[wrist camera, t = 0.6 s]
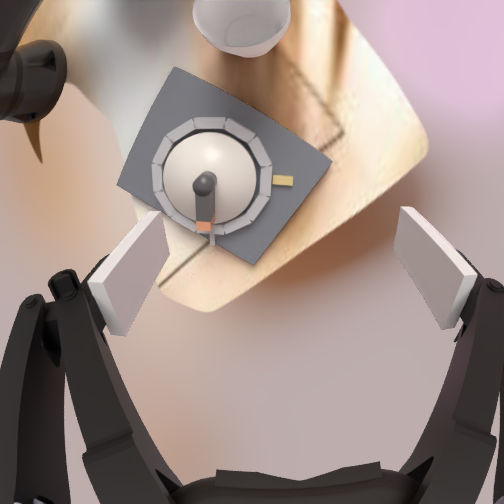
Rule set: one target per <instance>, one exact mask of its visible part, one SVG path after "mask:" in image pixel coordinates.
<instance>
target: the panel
mask: <svg viewBox="0 0 504 504" xmlns="http://www.w3.org/2000/svg"><path fill="white" fill-rule="evenodd" d="M203 132H220V133H224V134H227V135H230V136H232V137H233V138H235V139H237V140H238V141H240V142H241V143H242V144H243V145H244V146H245V147H246V148H247V150H248V151H249V152H250V154H251V156H252V158H253V160H254V163H255V166H256V172H257V180H256V187H255V191H254V194H253V197H252V199H251V201H250V203H249V205H248V206H247V207H246V208H245V210H243V211H242V212H241V213H240V214H239V215H238V216H236V217H235V218H233V219H231V220H228V221H226V222H222V223H216V224H214V225H213V227H212V229H211V231H197V230H196V221H194V220H191V219H190V218H188V217H186V216H184V215H183V214H181V213H180V212H179V211H178V210H177V209H176V208H175V207H174V206H173V204H172V203H171V202H170V200H169V198H168V196H167V194H166V191H165V187H164V182H163V172H164V166H165V163H166V160H167V158H168V156H169V154H170V153H171V151H172V150H173V149H174V148H175V147H176V146H177V145H178V144H179V143H180V142H182V141H183V140H185V139H187V138H189V137H191V136H193V135H196V134H198V133H203ZM332 162H333V161H332V160H331V159H329V158H328V157H327V156H325V155H324V154H323V153H321V152H320V151H318V150H317V149H316V148H314V147H313V146H311V145H310V144H308V143H307V142H306V141H304V140H303V139H301V138H300V137H298V136H297V135H295V134H294V133H292V132H291V131H289V130H288V129H286V128H285V127H283V126H282V125H280V124H279V123H277V122H276V121H274V120H272V119H271V118H269V117H268V116H266V115H264V114H263V113H261V112H259V111H258V110H256V109H254V108H253V107H251V106H249V105H248V104H246V103H244V102H243V101H241V100H239V99H237V98H236V97H234V96H232V95H230V94H228V93H227V92H225V91H223V90H221V89H219V88H217V87H215V86H214V85H212V84H210V83H208V82H206V81H204V80H202V79H200V78H198V77H196V76H194V75H192V74H190V73H188V72H186V71H184V70H182V69H179V68H177V67H174V68H173V69H172V71H171V73H170V74H169V76H168V78H167V79H166V81H165V83H164V85H163V86H162V88H161V90H160V92H159V94H158V95H157V97H156V99H155V101H154V103H153V105H152V107H151V109H150V111H149V113H148V115H147V117H146V119H145V121H144V123H143V125H142V127H141V129H140V131H139V133H138V135H137V137H136V140H135V142H134V144H133V146H132V149H131V151H130V153H129V155H128V158H127V160H126V163H125V165H124V167H123V170H122V172H121V175H120V178H119V180H118V183H117V186H119V187H121V188H122V189H124V190H126V191H128V192H129V193H131V194H132V195H134V196H136V197H137V198H139V199H141V200H143V201H144V202H146V203H148V204H149V205H151V206H153V207H154V208H156V209H158V210H159V211H161V212H163V213H165V214H166V215H168V216H169V217H171V219H172V220H174V221H176V222H177V223H179V224H181V225H183V226H184V227H186V228H188V229H189V230H191V231H193V232H197V233H199V234H200V235H202V236H204V237H206V238H207V239H209V240H210V246H215V243H216V244H218V245H219V246H221V247H223V248H225V249H226V250H228V251H230V252H231V253H233V254H235V255H237V256H238V257H240V258H242V259H244V260H245V261H247V262H249V263H251V264H252V265H254V264H255V263H256V261H257V260H258V259H259V257H260V256H261V255H262V254H263V252H264V251H265V250H266V248H267V247H268V246H269V244H270V243H271V242H272V241H273V239H274V238H275V237H276V235H277V234H278V233H279V231H280V230H281V229H282V227H283V226H284V225H285V224H286V222H287V221H288V220H289V218H290V217H291V216H292V214H293V213H294V212H295V210H296V209H297V208H298V207H299V205H300V204H301V203H302V201H303V200H304V199H305V197H306V196H307V195H308V193H309V192H310V191H311V189H312V188H313V187H314V186H315V184H316V183H317V182H318V180H319V179H320V178H321V176H322V175H323V174H324V172H325V171H326V170H327V168H328V167H329V166H330V164H331V163H332Z"/></svg>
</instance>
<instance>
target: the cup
mask: <svg viewBox="0 0 504 504" xmlns="http://www.w3.org/2000/svg"><path fill="white" fill-rule="evenodd" d="M193 19H194V22H195V25H196V26H197V28H198V30H199V31H200V32H201V33H202V35H203V36H204V38H205V39H206V40H207V41H208V42H209V43H210V44H211V45H213V46H214V47H216V48H217V49H219V50H221V51H224V52H227V53H230V54H234V55H238V56H241V57H246V58H254V57H259V56H262V55H264V54H266V53H267V52H269V51H270V50H271V49H272V48H273V47H274V46H275V45H276V44H277V43H278V42H279V41H280V40H281V39H282V37H283V36H284V35H285V33H286V31H287V29H288V27H289V24H290V2H289V0H195V2H194V5H193Z"/></svg>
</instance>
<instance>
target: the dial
mask: <svg viewBox="0 0 504 504" xmlns="http://www.w3.org/2000/svg"><path fill="white" fill-rule="evenodd" d="M256 180H257V172H256V166H255V163H254V160H253V158H252V156H251V154H250V152H249V151H248V150H247V148H246V147H245V146H244V145H243V144H242V143H241V142H240V141H238V140H237V139H235V138H233V137H232V136H230V135H227V134H224V133H220V132H203V133H198V134H196V135H193V136H191V137H189V138H187V139H185V140H183V141H182V142H180V143H179V144H178V145H177V146H176V147H175V148H174V149H173V150H172V151H171V153H170V154H169V156H168V158H167V160H166V163H165V166H164V172H163V182H164V187H165V191H166V194H167V196H168V198H169V200H170V202H171V203H172V204H173V206H174V207H175V208H176V209H177V210H178V211H179V212H180V213H181V214H183V215H184V216H186V217H188V218H190V219H191V220H194V221H196V230H197V231H211V229H212V227H213V225H214V224H216V223H222V222H226V221H228V220H231V219H233V218H235V217H236V216H238V215H239V214H240V213H241V212H242V211H243V210H245V208H246V207H247V206H248V205H249V203H250V201H251V199H252V197H253V194H254V191H255V187H256Z"/></svg>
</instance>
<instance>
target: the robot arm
mask: <svg viewBox="0 0 504 504" xmlns="http://www.w3.org/2000/svg"><path fill="white" fill-rule="evenodd" d="M42 2H43V0H0V120H8V121H13V122H18V123H31V122H35V121H38V120H41V119H42V118H44V117H45V116H46V115H48V114H49V113H50V111H51V110H52V109H53V108H54V106H55V105H56V103H57V101H58V99H59V97H60V95H61V93H62V90H63V86H64V83H65V78H66V58H65V54H64V51H63V49H62V48H61V46H60V45H59V44H58V43H56V42H54V41H51V40H36V41H33V42H30V43H27V44H25V45H22V46H19V47H17V46H18V44H19V42H20V40H21V38H22V36H23V34H24V32H25V30H26V28H27V27H28V25H29V23H30V21H31V20H32V18H33V16H34V15H35V13H36V11H37V10H38V8H39V6H40V5H41V3H42ZM393 251H394V253H395V254H396V255H397V257H398V258H399V260H400V261H401V263H402V264H403V266H404V268H405V269H406V270H407V272H408V274H409V275H410V277H411V278H412V280H413V282H414V283H415V285H416V286H417V288H418V290H419V291H420V293H421V295H422V296H423V298H424V300H425V301H426V303H427V305H428V307H429V308H430V310H431V312H432V314H433V315H434V317H435V319H436V321H437V323H438V324H439V326H440V328H441V330H444V329H450V328H454V327H455V326H456V324H457V322H458V320H459V317H461V319H462V321H463V322H464V323H463V325H462V327H461V329H460V331H459V333H458V335H457V336H456V338H455V340H454V342H456V341H457V344H456V347H455V351H454V354H453V358H452V360H451V364H450V367H449V370H448V373H447V376H446V378H445V381H444V384H443V387H442V389H441V392H440V395H439V397H438V400H437V402H436V405H435V407H434V409H433V412H432V414H431V417H430V419H429V421H428V423H427V425H426V428H425V429H424V432H423V434H422V436H421V438H420V440H419V442H418V444H417V446H416V447H415V449H414V451H413V453H412V455H411V456H410V458H409V459H408V461H407V462H406V463H405V464H404V465H403V467H402V468H401V469H400V471H399V472H396V471H392V470H385V469H381V467H380V461H379V462H374V463H369V464H363V465H358V466H351V467H344V468H340V469H338V470H334V471H332V472H329V473H326V474H323V475H320V476H316V477H314V478H310V479H307V480H302V481H297V480H291V479H286V478H281V477H276V476H271V475H267V474H263V473H259V472H243V471H227V470H216V477H209V478H205V479H200V480H197V481H194V482H191V483H189V484H187V485H185V486H183V485H182V483H181V482H180V480H178V478H177V476H176V475H175V474H174V473H173V472H172V470H171V469H170V468H169V466H168V465H167V464H166V462H165V461H164V459H163V457H162V456H161V454H160V452H159V451H158V449H157V447H156V446H155V444H154V442H153V440H152V439H151V437H150V435H149V433H148V431H147V429H146V428H145V426H144V424H143V422H142V420H141V418H140V416H139V414H138V412H137V410H136V408H135V406H134V404H133V402H132V400H131V398H130V396H129V394H128V391H127V389H126V387H125V385H124V382H123V380H122V378H121V375H120V373H119V371H118V368H117V366H116V363H115V361H114V359H113V356H112V354H111V351H110V348H109V346H108V343H107V340H106V337H105V335H104V333H103V329H104V327H105V325H107V327H108V329H109V331H110V333H111V335H118V336H126V335H127V333H128V331H129V329H130V327H131V325H132V323H133V321H134V319H135V317H136V315H137V313H138V312H139V310H140V307H141V306H142V304H143V302H144V300H145V298H146V296H147V294H148V293H149V291H150V289H151V287H152V285H153V283H154V282H155V280H156V278H157V276H158V274H159V272H160V271H161V269H162V267H163V265H164V264H165V262H166V260H167V258H168V257H169V255H170V253H169V248H168V244H167V239H166V234H165V229H164V225H163V219H162V214H161V211H150V212H148V213H147V214H146V215H145V216H144V217H143V218H142V219H141V220H140V221H139V222H138V223H137V224H136V225H135V226H134V228H133V229H132V230H131V231H130V232H129V233H128V234H127V235H126V237H125V238H124V239H123V240H122V241H121V242H120V243H119V245H117V247H116V248H115V249H114V250H113V251H112V252H111V254H108V255H107V256H105V257H104V258H102V259H101V260H100V261H99V262H98V263H97V264H96V266H95V267H94V268H93V269H92V270H91V273H89V274H88V275H87V277H86V278H85V279H84V280H83V282H82V283H81V284H80V282H79V279H78V277H77V275H76V272H75V271H74V270H72V269H66V270H63V271H60V272H58V273H56V274H55V275H54V276H52V277H51V279H50V280H49V282H48V286H49V288H50V291H51V293H52V295H53V297H54V299H55V301H54V302H49V303H46V302H45V300H44V298H43V296H42V295H41V294H34V295H30V296H28V297H27V298H26V299H25V300H24V301H23V302H22V304H21V305H20V308H19V310H18V313H17V316H16V319H15V321H14V324H13V327H12V330H11V333H10V336H9V340H8V343H7V346H6V350H5V353H4V357H3V361H2V365H1V368H0V504H71V498H70V490H69V481H68V473H67V465H66V453H65V436H64V388H65V372H66V377H67V381H68V386H69V390H70V394H71V398H72V402H73V405H74V409H75V413H76V417H77V420H78V423H79V426H80V429H81V433H82V436H83V438H84V442H85V444H86V448H87V452H85V453H83V455H82V456H83V457H82V459H83V463H84V466H85V469H86V472H87V474H88V477H89V479H90V481H91V484H92V486H93V489H94V491H95V493H96V495H97V497H98V499H99V502H100V504H475V502H476V500H477V498H478V495H479V493H480V491H481V488H482V486H483V484H484V481H485V478H486V476H487V473H488V470H489V467H490V464H491V461H492V458H493V455H494V452H495V448H496V443H497V439H496V436H493V435H491V433H490V432H491V427H492V423H493V419H494V415H495V411H496V406H497V401H498V396H499V391H500V434H499V449H498V459H497V467H496V475H495V483H494V495H493V504H504V286H503V285H502V284H501V283H500V282H498V281H496V280H494V279H491V278H485V279H484V277H483V276H482V275H481V274H480V273H479V272H478V270H477V269H476V268H475V267H474V266H473V265H471V262H470V261H469V260H467V258H466V257H465V256H464V255H463V254H462V253H461V252H460V251H458V250H457V249H455V248H454V247H453V246H452V245H451V244H450V243H449V242H448V241H447V240H446V239H445V238H444V237H443V236H442V235H441V234H440V233H439V232H438V231H437V230H436V229H435V228H434V227H433V226H432V225H431V224H430V223H429V222H428V221H427V220H426V219H425V218H424V217H422V216H421V215H420V214H419V213H418V212H417V211H416V210H415V209H414V208H413V207H401V209H400V215H399V222H398V227H397V233H396V238H395V243H394V248H393Z"/></svg>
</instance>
